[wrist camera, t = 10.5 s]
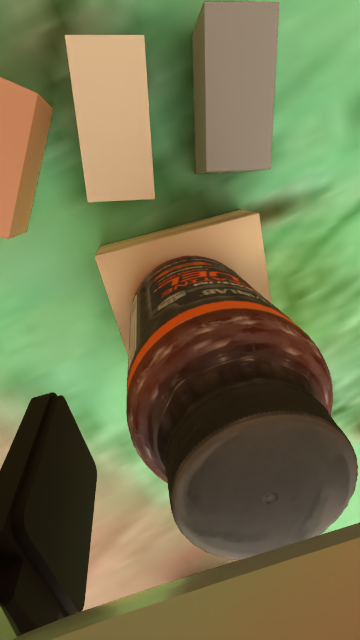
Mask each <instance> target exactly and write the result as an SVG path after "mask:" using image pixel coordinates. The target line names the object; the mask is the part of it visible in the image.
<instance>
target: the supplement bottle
mask: <svg viewBox="0 0 360 640" xmlns="http://www.w3.org/2000/svg"><path fill="white" fill-rule="evenodd" d="M332 403H333V392H332V380H331V376H330V372H329V369H328V367H327V364H326V362H325V360H324V358H323V356H322V354H321V353H320V351H319V349H318V348H317V346H316V345H315V344H314V342H313V341H312V340H311V338H310V337H309V336H308V335H307V334H306V333H305V332H304V331H303V330H301V329H300V328H299V327H298V326H297V325H296V324H295V323H294V322H293V321H292V320H290V319H289V318H288V317H287V316H286V315H284V314H283V313H282V312H281V311H280V310H279V309H278V308H276V307H275V306H274V305H273V304H271V303H270V302H269V301H268V300H267V299H265V298H264V297H263V296H262V295H261V294H260V293H258V292H257V291H256V290H255V289H254V288H252V287H251V286H250V285H249V284H248V283H247V282H246V281H245V280H243V279H242V278H241V277H240V276H239V275H238V274H237V273H236V272H235V271H233V270H232V269H230V268H228V267H227V266H226V265H224V264H222V263H221V262H218V261H216V260H214V259H210V258H207V257H202V256H182V257H178V258H174V259H171V260H169V261H166V262H164V263H162V264H161V265H159V266H158V267H156V268H155V269H153V270H152V271H151V272H150V273H149V274H148V275H147V276H146V277H145V278H144V279H143V281H142V282H141V284H140V285H139V287H138V289H137V291H136V293H135V296H134V299H133V304H132V309H131V317H130V338H129V358H128V377H127V412H126V413H127V423H128V427H129V432H130V434H131V439H132V442H133V445H134V447H135V448H136V450H137V452H138V454H139V456H140V457H141V458H142V460H143V461H144V463H145V464H146V465H147V466H148V467H149V468H150V469H151V470H152V471H153V472H154V473H155V474H156V475H157V476H158V477H159V478H161V479H162V480H164V481H165V482H167V483H168V489H169V497H170V504H171V510H172V513H173V517H174V520H175V522H176V524H177V526H178V528H179V530H180V531H181V533H182V534H183V535H185V537H186V538H187V539H188V540H189V541H190V542H191V543H192V544H194V545H195V546H197V547H199V548H201V549H202V550H204V551H206V552H208V553H210V554H213V555H216V556H221V557H224V558H231V559H238V560H242V559H245V558H248V557H251V556H255V555H258V554H261V553H264V552H267V551H270V550H274V549H277V548H280V547H283V546H286V545H290V544H293V543H296V542H299V541H302V540H306V539H309V538H312V537H315V536H318V535H320V534H321V533H323V532H324V531H325V530H326V529H327V528H328V527H329V526H330V525H331V524H333V523H334V522H335V521H336V520H337V519H338V518H339V516H340V515H341V514H342V512H343V511H344V509H345V508H346V507H347V505H348V502H349V500H350V498H351V497H352V495H353V493H354V491H355V486H356V481H357V475H358V472H357V469H358V465H357V458H356V454H355V452H354V449H353V447H352V445H351V443H350V441H349V440H348V438H347V437H346V435H345V434H344V433H343V431H342V430H341V429H340V428H339V427H338V426H337V424H336V423H335V422H334V420H333V419H332V417H331V411H332Z"/></svg>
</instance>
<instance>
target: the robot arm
mask: <svg viewBox="0 0 360 640" xmlns="http://www.w3.org/2000/svg"><path fill="white" fill-rule="evenodd" d="M96 481H97V470H96V465H95V462H94V460H93V458H92V456H91V454H90V452H89V449H88V447H87V445H86V443H85V441H84V439H83V437H82V434H81V432H80V430H79V428H78V426H77V424H76V421H75V419H74V417H73V415H72V413H71V411H70V409H69V406H68V404H67V402H66V400H65V398H64V397H63V396H62V395H60V396H57V395H56V394H55V393H53V392H52V393H49V394H45V395H41V396H38V397H34V398H32V399H31V401H30V403H29V406H28V408H27V410H26V412H25V415H24V417H23V419H22V422H21V424H20V426H19V429H18V431H17V433H16V436H15V438H14V440H13V443H12V445H11V447H10V450H9V452H8V454H7V457H6V459H5V461H4V463H3V465H2V468H1V470H0V640H360V523H357V524H354V525H351V526H348V527H344V528H341V529H338V530H335V531H331V532H328V533H325V534H322V535H319V536H315V537H312V538H309V539H306V540H302V541H299V542H296V543H293V544H290V545H286V546H283V547H280V548H277V549H274V550H270V551H267V552H264V553H261V554H258V555H255V556H251V557H248V558H245V559H242V560H239V561H236V562H232V563H229V564H226V565H223V566H220V567H217V568H213V569H210V570H207V571H204V572H201V573H198V574H194V575H191V576H188V577H185V578H182V579H178V580H175V581H172V582H169V583H166V584H163V585H159V586H156V587H153V588H150V589H147V590H144V591H141V592H138V593H135V594H132V595H129V596H126V597H123V598H120V599H117V600H115V601H112V602H109V603H106V604H103V605H100V606H97V607H94V608H91V609H88V610H85V611H82V610H83V607H84V602H85V592H86V582H87V572H88V562H89V552H90V542H91V532H92V522H93V512H94V501H95V491H96ZM81 611H82V612H81ZM78 612H79V613H78Z"/></svg>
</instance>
